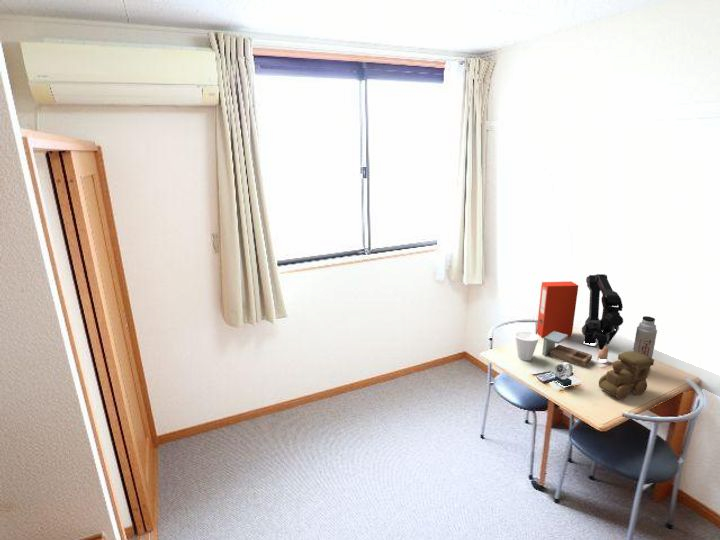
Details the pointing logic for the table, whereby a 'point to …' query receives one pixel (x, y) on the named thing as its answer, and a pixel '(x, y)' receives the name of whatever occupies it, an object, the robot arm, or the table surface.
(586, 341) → the robot arm
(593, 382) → the table surface
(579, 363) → the socket block
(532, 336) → the cup
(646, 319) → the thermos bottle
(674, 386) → the table surface
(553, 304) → the file binder
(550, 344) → the awning
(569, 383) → the watch
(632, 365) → the wooden toy train
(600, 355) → the peg
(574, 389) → the table surface
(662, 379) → the table surface
